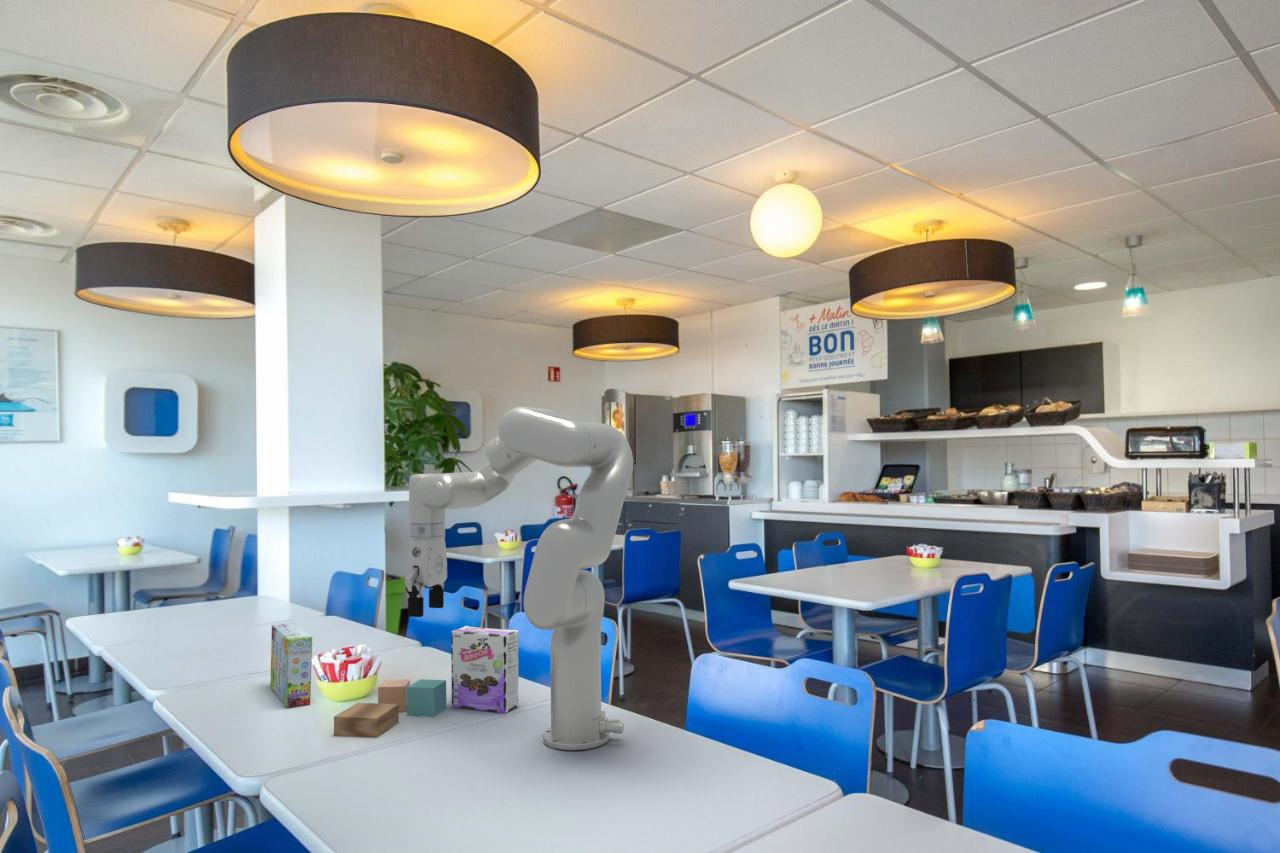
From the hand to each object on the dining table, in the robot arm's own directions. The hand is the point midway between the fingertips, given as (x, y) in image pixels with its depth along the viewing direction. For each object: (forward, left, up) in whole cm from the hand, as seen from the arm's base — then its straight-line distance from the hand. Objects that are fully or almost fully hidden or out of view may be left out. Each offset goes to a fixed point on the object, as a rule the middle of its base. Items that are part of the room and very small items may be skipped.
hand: (426, 612), depth 169 cm
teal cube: (0, 0, -21) cm, 21 cm away
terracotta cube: (+8, -1, -21) cm, 23 cm away
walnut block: (+7, +12, -21) cm, 25 cm away
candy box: (-11, -5, -21) cm, 24 cm away
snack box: (+37, -7, -21) cm, 43 cm away
